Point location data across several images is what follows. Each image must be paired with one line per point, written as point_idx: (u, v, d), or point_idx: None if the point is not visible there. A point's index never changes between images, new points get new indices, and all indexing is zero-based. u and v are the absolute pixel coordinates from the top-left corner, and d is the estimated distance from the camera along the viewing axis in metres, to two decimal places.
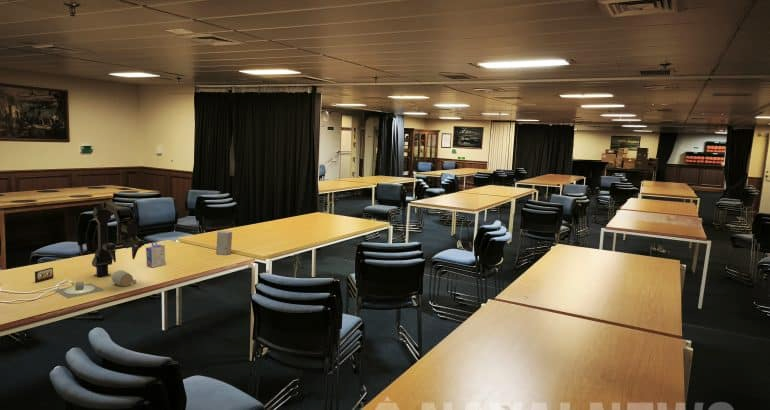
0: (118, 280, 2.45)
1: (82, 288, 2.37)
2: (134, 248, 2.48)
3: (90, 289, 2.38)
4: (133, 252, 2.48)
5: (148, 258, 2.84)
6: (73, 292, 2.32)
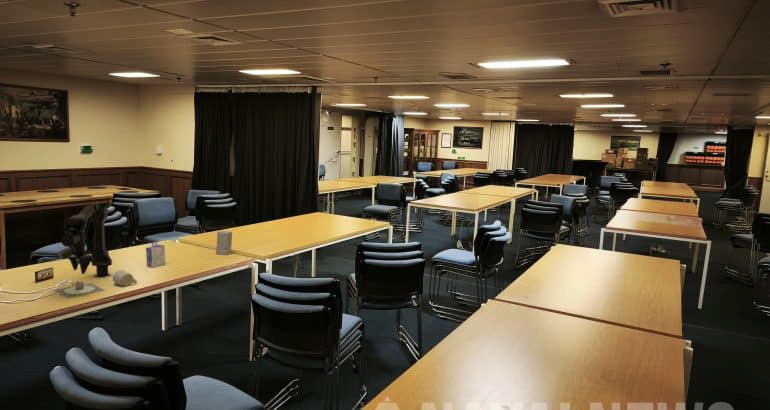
0: (119, 280, 2.45)
1: (82, 288, 2.37)
2: None
3: (90, 289, 2.38)
4: None
5: (148, 258, 2.84)
6: (73, 292, 2.32)
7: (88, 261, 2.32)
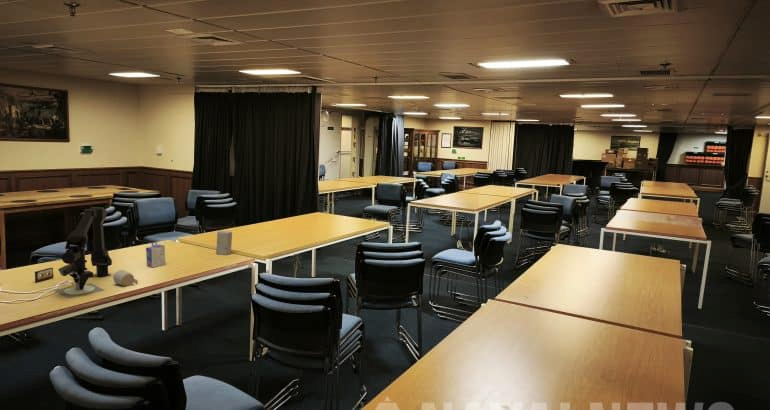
0: (119, 280, 2.46)
1: None
2: None
3: (90, 289, 2.38)
4: None
5: (148, 258, 2.84)
6: (73, 292, 2.32)
7: None
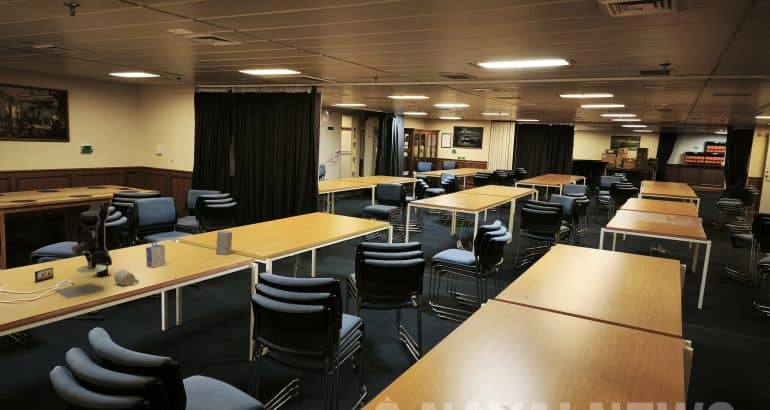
0: (120, 279, 2.46)
1: None
2: None
3: (102, 268, 2.40)
4: None
5: (148, 258, 2.84)
6: (85, 270, 2.35)
7: None
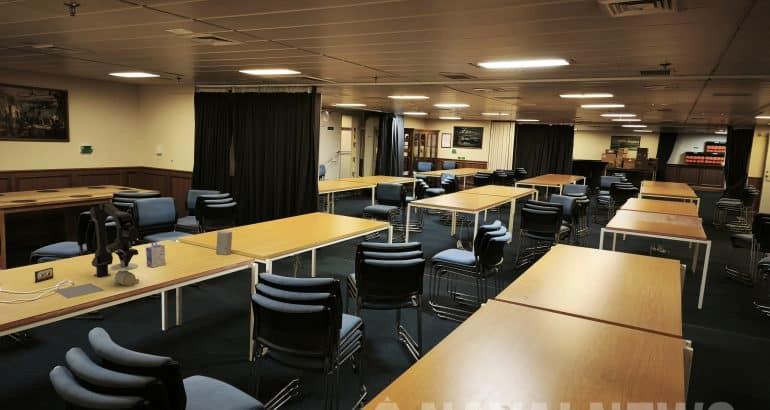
0: (121, 279, 2.46)
1: None
2: None
3: (134, 266, 2.50)
4: None
5: (148, 258, 2.84)
6: (119, 269, 2.44)
7: None
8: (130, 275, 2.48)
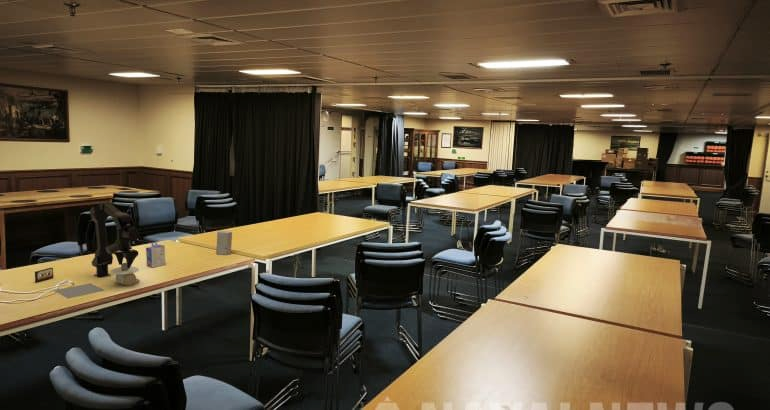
0: (121, 279, 2.47)
1: (127, 269, 2.49)
2: None
3: (135, 270, 2.50)
4: None
5: (148, 258, 2.84)
6: (120, 272, 2.45)
7: (134, 256, 2.45)
8: (131, 275, 2.49)
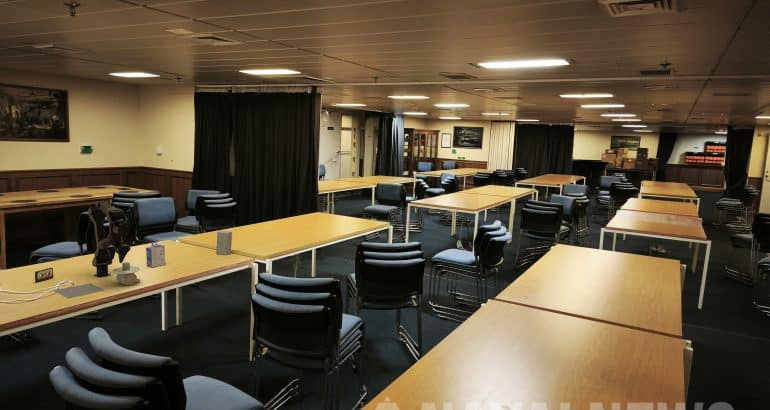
0: (122, 279, 2.47)
1: (128, 268, 2.50)
2: None
3: (136, 269, 2.51)
4: None
5: (148, 258, 2.84)
6: (121, 272, 2.46)
7: (126, 251, 2.45)
8: (131, 275, 2.49)
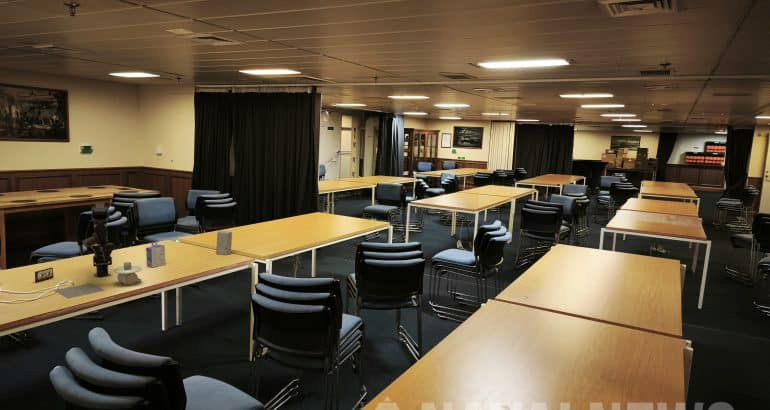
0: (123, 279, 2.47)
1: (130, 268, 2.51)
2: None
3: (137, 269, 2.52)
4: None
5: (148, 258, 2.84)
6: (122, 271, 2.46)
7: (111, 249, 2.45)
8: (132, 274, 2.49)
